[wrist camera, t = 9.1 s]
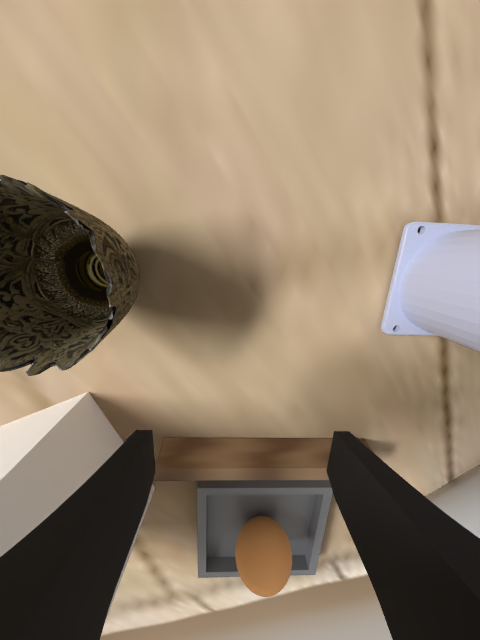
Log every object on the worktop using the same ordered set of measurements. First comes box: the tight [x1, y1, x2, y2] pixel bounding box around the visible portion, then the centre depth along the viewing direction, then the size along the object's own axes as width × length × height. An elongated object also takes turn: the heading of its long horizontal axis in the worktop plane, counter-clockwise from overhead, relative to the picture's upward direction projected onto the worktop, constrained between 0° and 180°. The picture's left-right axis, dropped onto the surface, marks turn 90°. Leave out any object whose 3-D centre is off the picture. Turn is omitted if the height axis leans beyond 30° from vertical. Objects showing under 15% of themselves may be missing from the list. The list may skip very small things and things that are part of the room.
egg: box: [235, 516, 292, 597], centre depth 20 cm, size 5×5×5 cm
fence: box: [155, 438, 373, 481], centre depth 19 cm, size 18×1×3 cm, turn 87°
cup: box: [0, 175, 139, 376], centre depth 12 cm, size 8×7×8 cm
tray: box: [197, 480, 333, 578], centre depth 23 cm, size 12×12×2 cm
